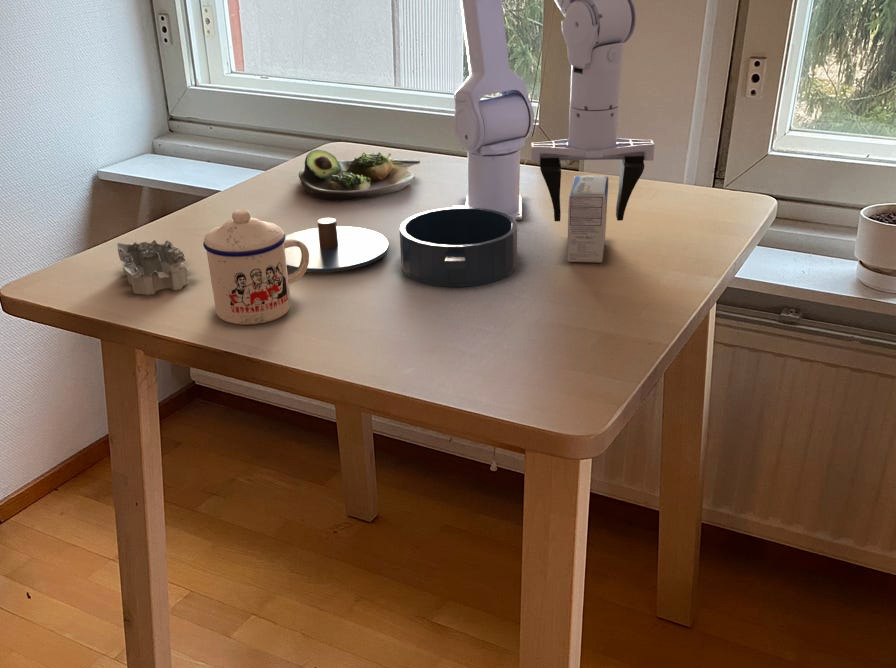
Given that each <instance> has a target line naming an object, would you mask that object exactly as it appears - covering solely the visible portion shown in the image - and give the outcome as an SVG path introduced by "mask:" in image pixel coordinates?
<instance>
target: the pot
mask: <svg viewBox="0 0 896 668" xmlns="http://www.w3.org/2000/svg"><path fill="white" fill-rule="evenodd" d="M399 247H400V249H399V250H400V264H401V270H402V272H403V273H404V274H405V275H406V276H407V277H408V278H410V279H411V280H414V281H416V282H419V283H420V284H425V285H430V286H436V287H445V288H447V287H448V288H463V287H464V288H465V287H475V286H481V285H482V286H483V285H487V284H492V283H494V282H497V281H500V280H503V279H504V278H507V277H508V276H510V275H511V274H512V273H513V272H514V271H515V270H516V268H517V264H518V222H517V220H514V218H512V217H511V216H509V215H507V214H505V213H502V212H499V211H495V210H490V209H484V208H474V207H471V206H466V205H452V207H441V208H436V209H431V210H426V211H423V212H419V213H416V214H413V215H412V216H410V217H408V218H406V219H405V220H404V221H402V222H401V223H400V227H399Z"/></svg>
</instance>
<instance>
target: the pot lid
mask: <svg viewBox="0 0 896 668" xmlns="http://www.w3.org/2000/svg"><path fill="white" fill-rule="evenodd" d="M288 239H296V240H299V241H301V242H302V243H304V244H305V245H306V247H307V248H308V251H309V264H308V267H307V270H306V272H305V273H335V272H341V271H342V272H343V271H349V270H352V269H353V270H354V269H357V268H361V267H364V266H367V265H368V266H369V265H370V264H372V263H375V262H377V261H378V260H380V259H381V258H383V257H385V255H386V254H387V252H388V251H389V245H390V244H389V241H388V239H387V237H385V236H384V235H383V234H382V233H379V232H377V231H375V230H371V229H367V228H363V227H357V226H347V225H346V226H345V225H344V226H343V225H340V226H339V225H337V220H336V218H333V217H322V218H319V219H318V220H317V227H314V228H307V229H304V230H299V231H296V232H292V233H290V234H287V235H285V240H288ZM285 257H286V266H287V270H288V269H289V270H292V271H296V270H297V269H298V267H299V265H300V262H301V250H300V248H299V247H289V248H285Z"/></svg>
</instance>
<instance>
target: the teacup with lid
mask: <svg viewBox="0 0 896 668" xmlns="http://www.w3.org/2000/svg"><path fill="white" fill-rule="evenodd" d="M285 236H286V234H285V232H284V230H283V229H282V228H281V227H280V226H279V225H277V224H275V223H273V222H269V221H262V220H260V219H259V218H256V217H251V213H250V211H249V210H247V209H237V210H234V211H233V212H232V214H231V219H229V220H227V221H225V222H224V223H223V224H221V225H219V226H216V227H214V228H212V229H210V230H209V231H208V232H207V233H206V234H205V235H204V238H203V242H202V243H203V248H204V249H205V251H206V257H207V263H208V269H209V276H210V282H211V288H212V294H213V295H212V296H213V301H214V307H215V312H216V315H217V317H219V318H220V319H221V320H222V321H224V322H226V323H228V324H229V323H230V324H235V325H241V326H242V325H245V326H247V325H248V326H249V325H260V324H265V323H270V322H273V321H275V320H277V319H280V318H281V317H283V316H284V315H286V314H287V313H288V312H289V311H290V309H291V306H292V305H291V304H292V301H291V294H290V284H292V283H295V282H297V281H299V280H300V279H302V277H303V276H304V275H305V273H307V272H306V270H307V267H308V264H309V251H308V248H307V247H306V245H305V244H304V243H302V242H301V241H299V240H296V239H288V240H285ZM289 247H299V248H300V250H301V262H300V265H299V267H298V269H297V270H294V272H292V273H290V274H288V268H287V266H286V257H285V248H289Z"/></svg>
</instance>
